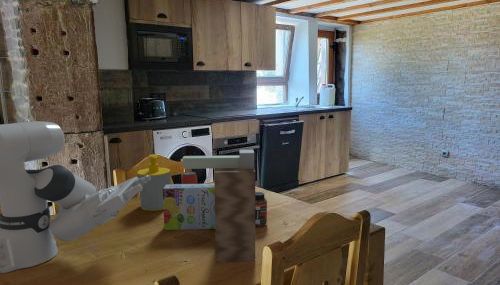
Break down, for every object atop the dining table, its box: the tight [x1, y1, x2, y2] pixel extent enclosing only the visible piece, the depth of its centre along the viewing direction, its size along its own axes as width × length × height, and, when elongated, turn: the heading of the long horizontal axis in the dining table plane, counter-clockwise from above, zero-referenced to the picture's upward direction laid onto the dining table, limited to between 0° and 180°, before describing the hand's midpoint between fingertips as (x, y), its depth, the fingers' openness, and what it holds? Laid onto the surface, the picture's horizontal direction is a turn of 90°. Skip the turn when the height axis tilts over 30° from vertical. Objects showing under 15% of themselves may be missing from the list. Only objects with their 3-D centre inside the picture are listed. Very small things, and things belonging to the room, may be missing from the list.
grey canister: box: [136, 154, 171, 212], centre depth 145 cm, size 13×13×21 cm
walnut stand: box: [213, 168, 256, 263], centre depth 104 cm, size 11×12×26 cm
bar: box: [181, 149, 255, 170], centre depth 102 cm, size 20×5×4 cm, turn 93°
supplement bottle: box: [255, 191, 268, 228], centre depth 127 cm, size 6×6×11 cm
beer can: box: [180, 170, 198, 184], centre depth 153 cm, size 7×7×12 cm
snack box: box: [162, 183, 215, 231], centre depth 124 cm, size 21×6×15 cm, turn 92°
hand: (145, 181), depth 102 cm, fingers open, 8 cm apart
